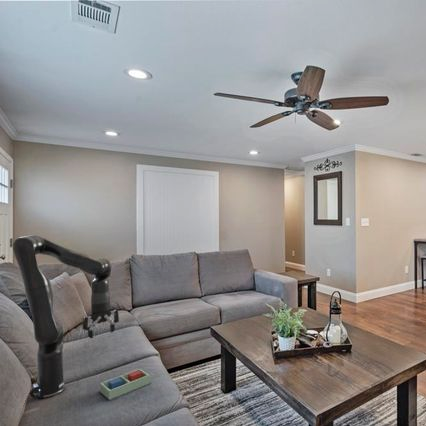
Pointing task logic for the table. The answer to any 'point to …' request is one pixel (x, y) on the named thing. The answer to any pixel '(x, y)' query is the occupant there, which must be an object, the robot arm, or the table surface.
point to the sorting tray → (124, 385)
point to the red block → (134, 376)
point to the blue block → (115, 383)
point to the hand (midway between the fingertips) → (101, 334)
